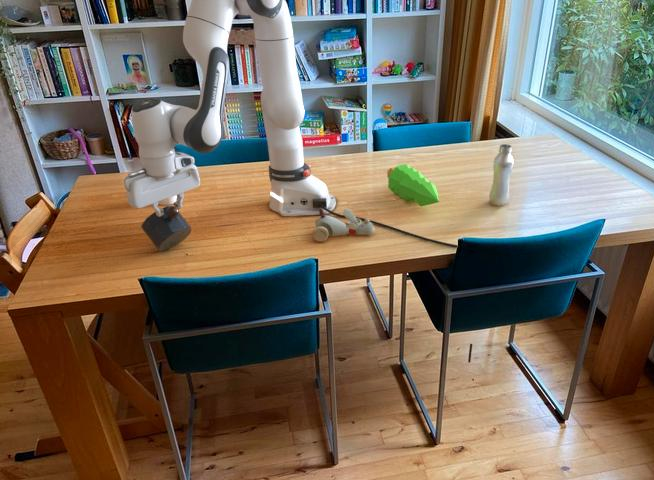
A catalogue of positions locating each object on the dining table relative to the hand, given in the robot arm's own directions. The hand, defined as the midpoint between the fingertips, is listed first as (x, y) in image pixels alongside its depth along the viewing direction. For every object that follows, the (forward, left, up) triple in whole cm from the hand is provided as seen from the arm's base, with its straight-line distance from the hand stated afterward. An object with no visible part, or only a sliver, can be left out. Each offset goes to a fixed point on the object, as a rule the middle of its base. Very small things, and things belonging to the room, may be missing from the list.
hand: (169, 211), depth 150 cm
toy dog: (-45, -16, -14) cm, 50 cm away
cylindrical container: (+18, -36, -14) cm, 43 cm away
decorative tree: (-66, -41, -14) cm, 79 cm away
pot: (+6, -5, -11) cm, 14 cm away
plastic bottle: (-95, -42, -14) cm, 105 cm away
